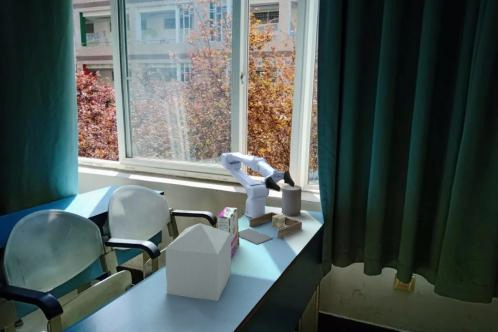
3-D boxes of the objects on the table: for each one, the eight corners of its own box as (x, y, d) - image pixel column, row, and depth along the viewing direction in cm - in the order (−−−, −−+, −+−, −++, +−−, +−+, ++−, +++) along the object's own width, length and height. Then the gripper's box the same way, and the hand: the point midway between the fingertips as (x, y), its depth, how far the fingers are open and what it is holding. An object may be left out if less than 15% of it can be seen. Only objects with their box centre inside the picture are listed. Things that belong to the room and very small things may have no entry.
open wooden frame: (249, 226, 158) (249, 219, 157) (271, 218, 168) (271, 211, 167) (279, 238, 145) (280, 230, 144) (301, 229, 155) (302, 221, 155)
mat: (233, 234, 148) (233, 233, 148) (248, 229, 154) (248, 228, 154) (257, 244, 138) (257, 243, 138) (272, 238, 145) (272, 237, 145)
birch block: (272, 226, 158) (272, 216, 157) (277, 224, 161) (278, 214, 160) (278, 229, 155) (279, 218, 154) (284, 227, 158) (284, 216, 157)
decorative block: (231, 273, 116) (231, 216, 112) (218, 301, 100) (218, 235, 96) (185, 268, 118) (184, 212, 115) (165, 294, 103) (163, 230, 99)
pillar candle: (301, 211, 180) (302, 183, 177) (299, 217, 171) (300, 187, 168) (282, 209, 182) (283, 181, 179) (279, 215, 173) (280, 186, 170)
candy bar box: (224, 246, 136) (225, 206, 133) (237, 248, 135) (237, 207, 132) (216, 259, 125) (216, 216, 122) (230, 261, 124) (230, 217, 121)
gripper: (255, 169, 154) (273, 183, 145) (282, 161, 161) (300, 175, 151) (255, 182, 158) (272, 197, 148) (281, 174, 165) (299, 188, 155)
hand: (286, 187), depth 150 cm, fingers open, 7 cm apart
